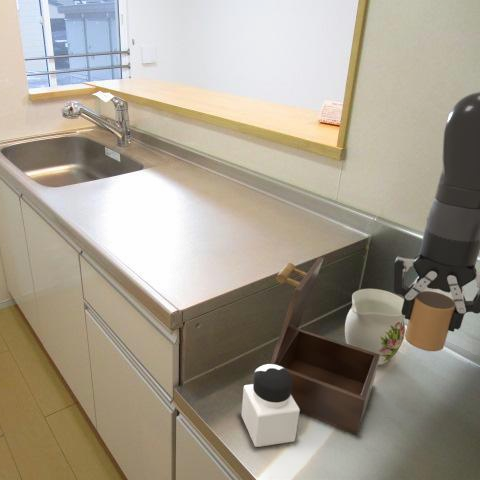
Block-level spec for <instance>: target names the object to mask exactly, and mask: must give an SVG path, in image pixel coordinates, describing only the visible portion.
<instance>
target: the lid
mask: <svg viewBox="0 0 480 480" xmlns="http://www.w3.org/2000/svg"><path fill="white" fill-rule="evenodd" d="M323 262H324V257H321V256H319V257H318V258H317V259H316V261H315V262H314V263H313V265H312V266H311V268H310V269H309V270H308V271H307V272H306V271H303V270H301V269H297V268H296V266H295V264H293V263H291V262H287V263H286V264H285V266H284V267H283V268H282V269H281V270H280V271H279V272H278V274H277V275H276V277H275V279H276V282H277V283H279V284H285V283H287V284H289V285H291V286H293V287H296V288H295V289H294V292H293V294H292V298H291V300H290V303H289V307H288V309H287V313H286V316H285V318H284V321H283V325H282V327H281V330H280V332H279V336H278V338H277V342H276V345H275V348H274V350H273V353H272V355H271V359H270V362H269V364H275V363H276V361H277V360H278V358H279V357H280V355H281V353H282V352H283V350H284V349H285V347H286V346H287V344H288V342H289V341H290V339H291V338H292V336H293V335H294V333H295V331H296V330H297V328H298V329H299V326H300V324H301V321H302V318H303V315H304V313H305V310H306V307H307V304H308V302H309V299H310V297H311V294H312V291H313V288H314V287H315V283H316V280H317V277H318V275H319V272H320V269H321V267H322V264H323ZM293 274H295V275H297V276H300V277H302V279H301V281H297V280H295V279H292V278H291V276H292V275H293Z"/></svg>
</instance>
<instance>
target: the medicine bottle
mask: <svg viewBox="0 0 480 480" xmlns="http://www.w3.org/2000/svg"><path fill="white" fill-rule="evenodd" d="M253 375H254V376H253V383H251V384H245V385H244V386H243V389H242V390H243V391H242V393H243V394H242V404H241V418H242V421H243V423H244V425H245V427H246V430H247V432H248V434H249V437H250V439H251V441H252V443H253V446H254V447H255V448H261V447H267V446H273V445H280V444H286V443H292V442H296V440H297V439H296V438H297V432H298V427H299V426H298V425H299V420H300V414H301V412H300V409H299V407H298V406H297V404H296V402H295V401H294V399H293V397H292V396H291V389H292V381H293V379H292V376H291V374H290V373H289V372H288V371H287V370H286V369H285V368H283V367H281V366H278V365H274V364H272V363H267V364H262V365H261V366H259V367H257V368H256V369H255V370H254V373H253Z"/></svg>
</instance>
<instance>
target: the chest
mask: <svg viewBox="0 0 480 480" xmlns="http://www.w3.org/2000/svg"><path fill="white" fill-rule="evenodd" d="M379 357H380V354H377V353H373V352H370V351H367V350H364V349H361V348H358V347H355V346H351V345H348V344H347V343H345V342H341V341H338V340H336V339H332V338H329V337H325V336H323V335H320V334H316V333H314V332H310V331H307V330H303V329H301V328H299V327H298V328H297V330H296V331H295V333H294V335H293V336H292V338H291V339H290V341H289V342H288V344H287V346H286V347H285V349H284V350H283V352H282V353H281V355H280V357H279V358H278V360H277V361H276V363H275V364H274V365H278V366H281V367H283V368H285V369H286V370H287V371H288V372H289V373H290V374H291V376H292V379H293V381H292V389H291V396H292V397H293V399H294V401H295V402H296V404H297V406H298V407H299V409H300V414H303V415H306V416H308V417H311V418H313V419H314V420H317V421H320V422H323V423H326V424H327V425H330V426H332V427H335V428H337V429H340V430H342V431H344V432H347V433H350V434H352V435H354V436H358V434H359V431H360V428H361V425H362V421H363V418H364V415H365V412H366V408H367V405H368V402H369V400H370V397H371V393H372V390H373V388H374V382H375V378H376V374H377V369H378V366H379V365H378V361H379Z"/></svg>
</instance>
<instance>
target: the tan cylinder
mask: <svg viewBox="0 0 480 480" xmlns="http://www.w3.org/2000/svg"><path fill="white" fill-rule="evenodd" d="M455 307H456V305H455V302H454V300H453V298H451V297H450V296H448V295H445V294H444V293H441V292H437V291H433V290H422V291H421V292H420V293H418V294H417V295H416V296H415V297H414V302H413V306H412V310H411V314H410V318H409V320H408V322H407V324H406V325H407V326H406V328H405V335H404V339H405V341H407V343H408V344H410V346H412V347H414V348H416V349H419V350H422V351H427V352H440V351H442V350H443V349H444V347H445V344H446V341H447V338H448V334H449V332H450V331H449V327H450V324H451V320H452V317H453V313H454V310H455Z"/></svg>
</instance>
